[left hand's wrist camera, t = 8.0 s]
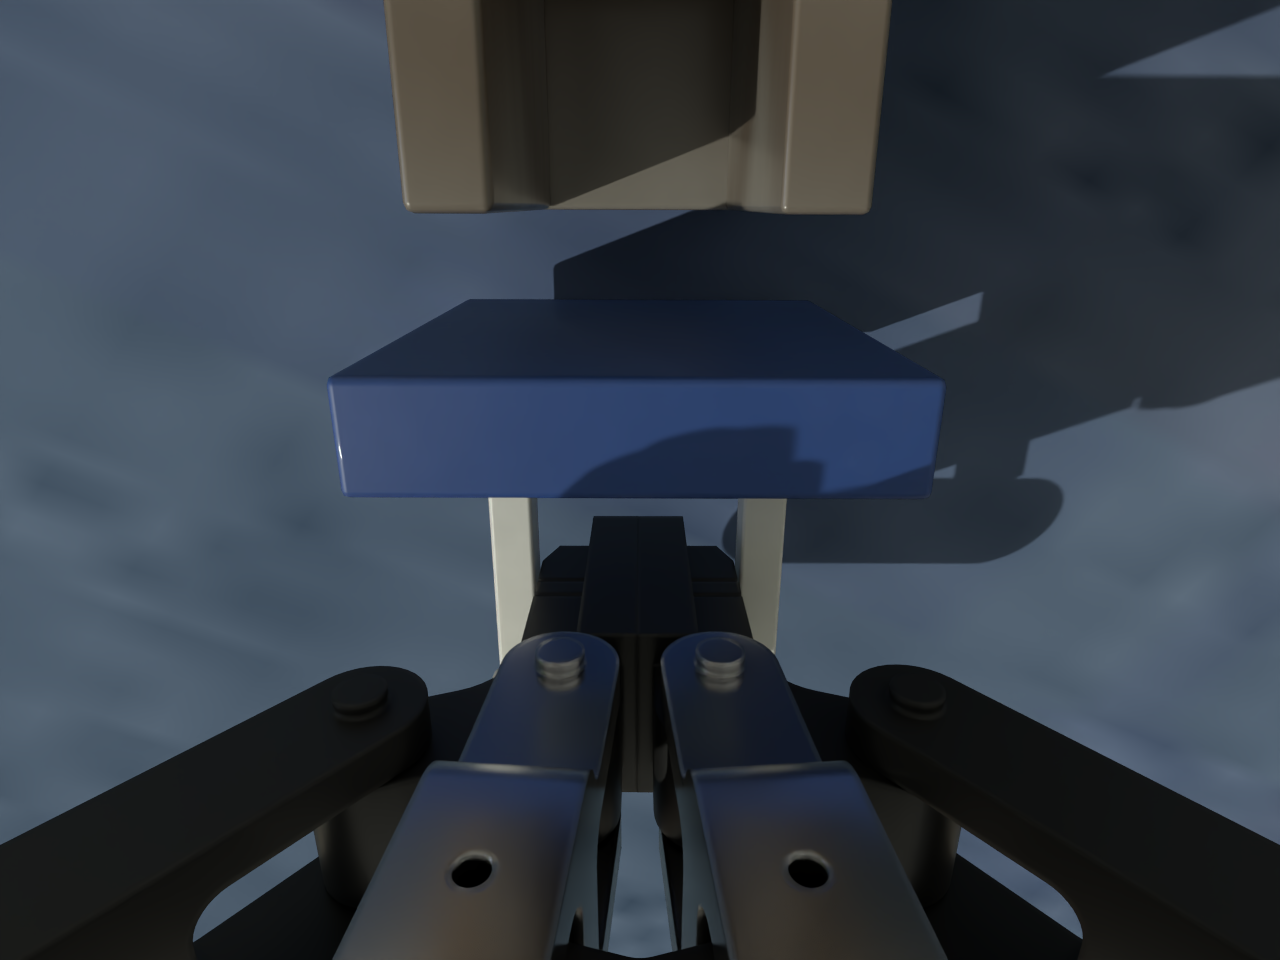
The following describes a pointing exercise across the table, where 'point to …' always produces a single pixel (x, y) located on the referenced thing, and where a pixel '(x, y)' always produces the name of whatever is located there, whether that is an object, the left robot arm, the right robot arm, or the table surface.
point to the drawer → (637, 329)
